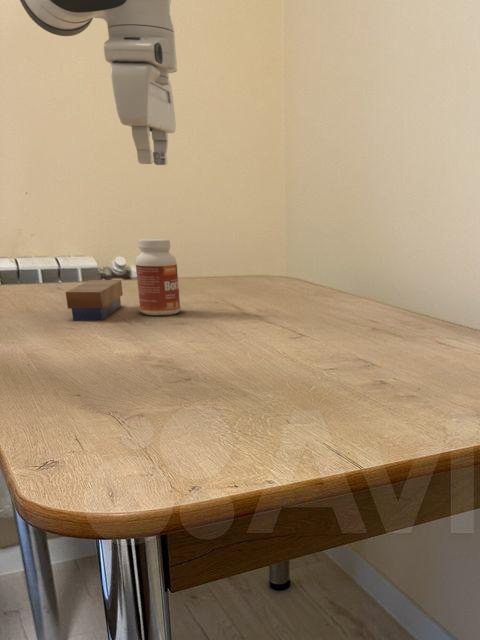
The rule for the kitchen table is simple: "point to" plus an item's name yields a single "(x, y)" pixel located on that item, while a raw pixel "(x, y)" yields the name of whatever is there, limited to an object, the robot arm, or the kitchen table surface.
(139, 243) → the pill bottle
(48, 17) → the robot arm
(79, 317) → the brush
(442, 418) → the kitchen table surface
